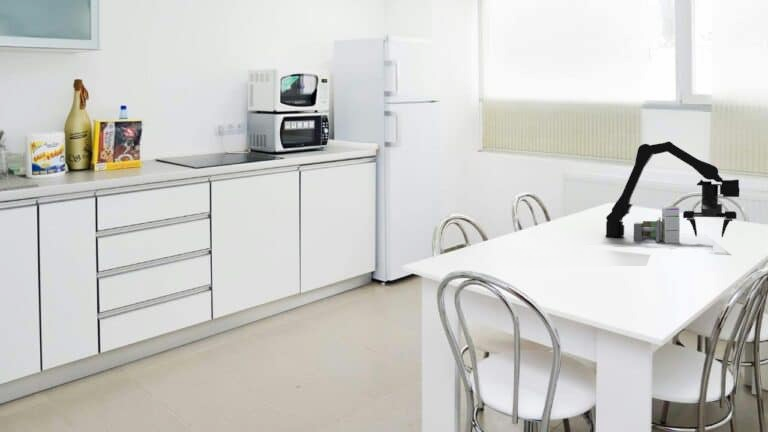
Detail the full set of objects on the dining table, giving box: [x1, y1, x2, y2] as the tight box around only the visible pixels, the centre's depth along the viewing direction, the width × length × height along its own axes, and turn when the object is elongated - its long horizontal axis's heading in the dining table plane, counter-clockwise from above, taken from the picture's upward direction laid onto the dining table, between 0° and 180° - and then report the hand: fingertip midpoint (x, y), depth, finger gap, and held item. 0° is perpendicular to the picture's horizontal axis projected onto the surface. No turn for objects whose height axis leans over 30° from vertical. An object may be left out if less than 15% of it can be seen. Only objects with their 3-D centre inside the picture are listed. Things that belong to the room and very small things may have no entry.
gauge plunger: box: [642, 216, 662, 243], centre depth 275 cm, size 10×13×9 cm
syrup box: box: [661, 205, 681, 244], centre depth 269 cm, size 6×6×14 cm
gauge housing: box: [633, 220, 662, 242], centre depth 274 cm, size 10×11×8 cm
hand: (709, 236), depth 263 cm, fingers open, 9 cm apart
